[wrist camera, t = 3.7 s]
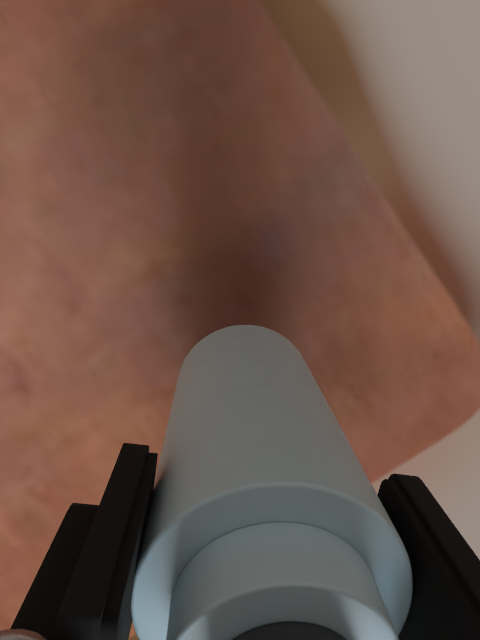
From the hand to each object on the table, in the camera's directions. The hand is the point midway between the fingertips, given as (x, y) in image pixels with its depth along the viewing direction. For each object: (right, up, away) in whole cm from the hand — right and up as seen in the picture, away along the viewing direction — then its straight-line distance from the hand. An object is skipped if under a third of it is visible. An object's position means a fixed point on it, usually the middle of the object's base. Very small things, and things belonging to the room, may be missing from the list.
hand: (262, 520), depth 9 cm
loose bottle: (0, +2, +7) cm, 7 cm away
